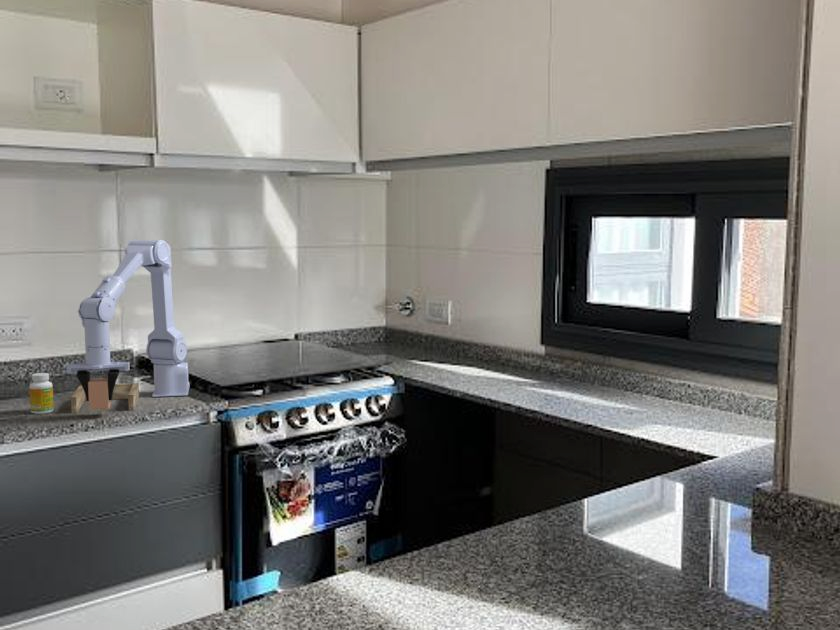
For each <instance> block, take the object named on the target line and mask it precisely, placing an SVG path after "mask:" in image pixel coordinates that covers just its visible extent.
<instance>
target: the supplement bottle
mask: <svg viewBox="0 0 840 630" xmlns="http://www.w3.org/2000/svg"><path fill="white" fill-rule="evenodd" d="M49 380H50V374H49V373H48V372H38V373H37V372H36V373H32V374H31V381H32V382H31V383H30V384H29V389H28V390H29V406H30V408H29V409H30V413H31V414H33V413H34V414H36V415H41V414H49V413H52V412H54V387H53V383H52V382H51V381H49Z"/></svg>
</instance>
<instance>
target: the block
mask: <svg viewBox="0 0 840 630" xmlns="http://www.w3.org/2000/svg"><path fill="white" fill-rule="evenodd" d="M88 392H89V401H88V411H97V410H98V411H100V410H101V411H102V410H109V409H110V407H111V402H112V401H111V400H109V397H108V393H109V385H108V377H105V378H102V377H101V378H90V380H89V382H88Z"/></svg>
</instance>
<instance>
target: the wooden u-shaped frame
mask: <svg viewBox="0 0 840 630" xmlns="http://www.w3.org/2000/svg"><path fill="white" fill-rule="evenodd" d="M139 387H140V384H139V383H138V382H133V383H131V382H129V383H115V386H114V390H113V398H112V400H128V401H127V402H128V411H135V409H136V405H137V403H138V402H139V401H138V400H139V398H140V392H139V391H140V389H139ZM85 400H86V401H87V399H86V395H85V392H84V389H83V387H82V385H79V386H78V387H77V389H76V390H75V391H74V392H73V394H72V395H71V396H70V405H71V410H70V411H71V413H72V414H75V413H76V414H77V413H78V411H79V410H80V408H81V407H82V406H83V404H85V402H86V401H85ZM84 401H85V402H84Z"/></svg>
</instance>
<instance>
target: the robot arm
mask: <svg viewBox="0 0 840 630" xmlns="http://www.w3.org/2000/svg"><path fill="white" fill-rule="evenodd" d="M171 251H172V250H171V246H170V245H169V244H168V242H166V241H165V240H163V239H159V240H157V239H156V240H155V239H153V240H149V239H145V240H144V239H140V240H139V239H132V240H130V241H129V242H128V244H127V245H126V247H125V249H124V252H125V253H124V254H125V256H124V257H123V258H122V261H120V264H118V265H119V266H118V267H117V268H116V270H115V272H113V275H108V276H106V277H105V276H104V277H103V279H102V281H101V283H100V284H99V285H98V287H97V288H96V290H94V292H93V293H92V294H91V296H90V297H86V298H84V299H83V300H81V302H80V304H79V309H77V314H78V317H79V318H80V319H81V325H82V327H83V328H84V347H85V348H84V349H85V350H84V351H85V362H79V363H78V362H77V363H67V364H66V373H67V374H71V373H76V377H77V379H78V381H79V383H80V384H81V385H82V387H83V389H84V392H85V395H86V399H87V400H86V402H89V392H88V382H89V380H90V379H91V372H107V378H108V385H109V393H108V397H109V400H110V401H112V400H113V399H112V398H113V390H114V386H115V384H117V380H118V378H119V376H120V373H121V371H125V372H129V371H130V361H111V347H110V346H111V343H110V320H111V319H112V318H113V316H114V314H115V308H116V305H117V304H116V303H117V302H118V301H119V300H120V298H121V297H122V295H123V294H124V293H125V291H126V285H125V284H126V283H127V282H128V280H130V278H131V277H132V276H133V275H134V274H135V273H136V271H137V270H138V269H140V267H142V268H144V269H145V270H146V271H148V273H150V281H151V282H150V283H151V296H152V299H151V300H152V310H153V311H152V312H153V314H152V315H153V326H154V329H153V330H152V331H151V332H150V333H149V334H148V335H147V345H146V349H145V351H146V352H145V353H146V355H147V358H148V359H149V360H150V363H152V364H153V382H154V383H153V384H154V385H153V387H154V390H153V392H152V394H151V396H152V398H155V397H156V398H159V397H180V396H182V397H183V396H184V397H186V396H189V391H190V381H189V364H188V363H189V362H184V360H185V358H186V356H187V354H188V353H187V352H188V348H187V344H186V341H185V335H184V333H182V331H180V330H178V328H176V327H175V319H174V318H175V317H174V316H175V315H174V301H173V287H172V285H173V283H172V270H171V269H172V268H173V267H172V265H173V264H172V254H171V253H172V252H171Z"/></svg>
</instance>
